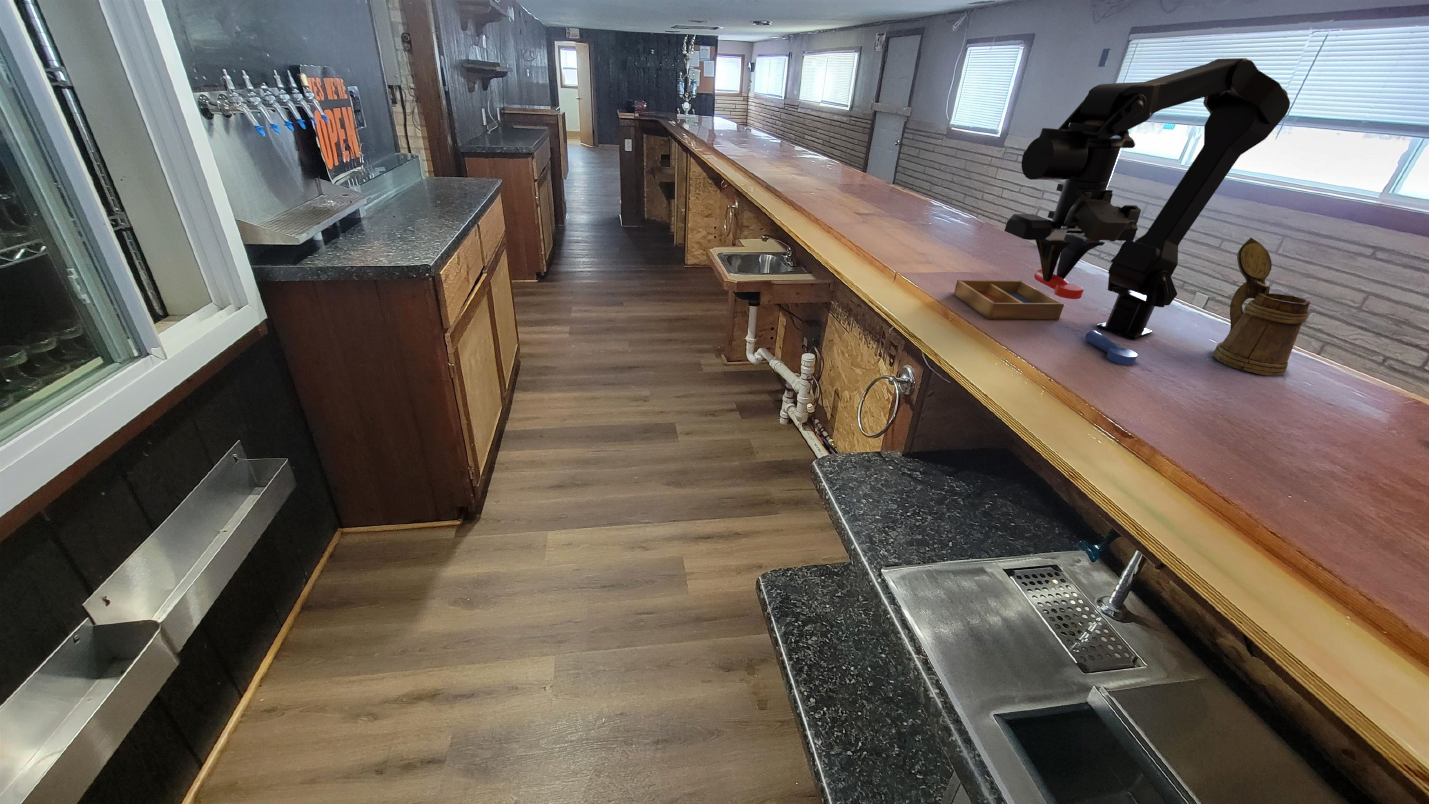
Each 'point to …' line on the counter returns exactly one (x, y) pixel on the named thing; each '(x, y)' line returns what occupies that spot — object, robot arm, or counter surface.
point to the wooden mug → (1260, 319)
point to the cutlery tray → (1007, 299)
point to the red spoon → (1060, 286)
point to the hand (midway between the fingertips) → (1052, 280)
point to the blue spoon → (1111, 348)
